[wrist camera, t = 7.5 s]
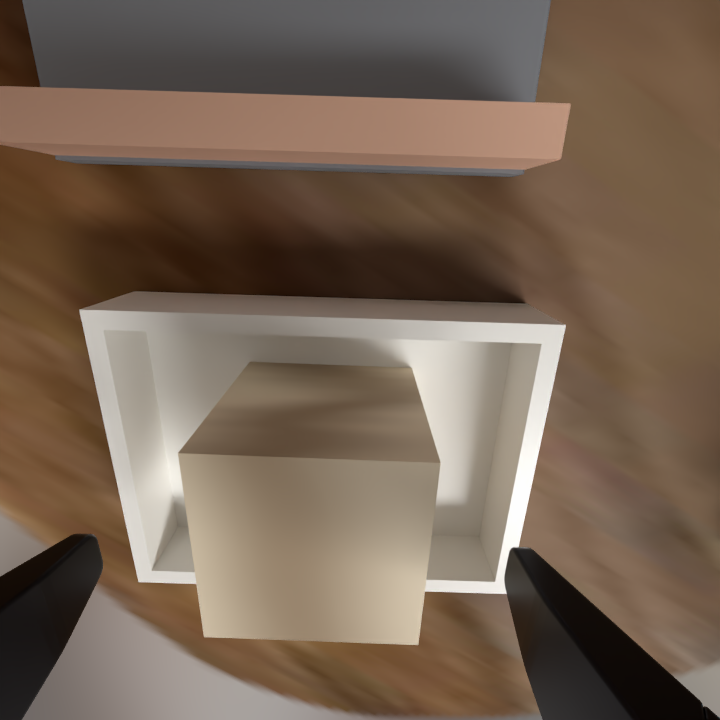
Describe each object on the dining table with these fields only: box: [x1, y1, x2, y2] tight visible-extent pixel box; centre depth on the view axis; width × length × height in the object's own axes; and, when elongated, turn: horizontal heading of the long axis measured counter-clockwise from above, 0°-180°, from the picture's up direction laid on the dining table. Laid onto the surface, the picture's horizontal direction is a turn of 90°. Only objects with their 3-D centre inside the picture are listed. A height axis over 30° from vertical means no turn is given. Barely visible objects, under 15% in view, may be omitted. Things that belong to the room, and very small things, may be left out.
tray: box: [79, 291, 566, 594], centre depth 12 cm, size 12×9×2 cm
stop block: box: [178, 362, 441, 645], centre depth 11 cm, size 5×5×5 cm
